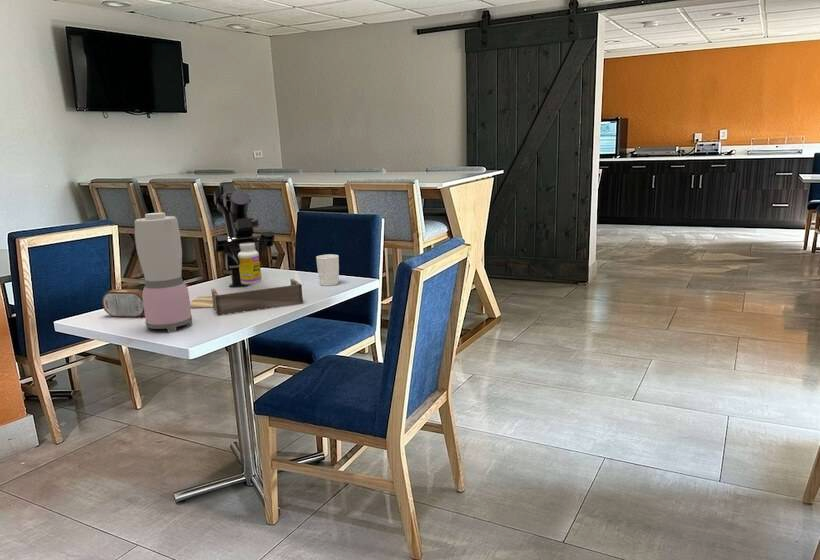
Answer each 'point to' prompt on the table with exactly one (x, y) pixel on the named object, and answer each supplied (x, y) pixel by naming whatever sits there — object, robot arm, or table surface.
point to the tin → (124, 303)
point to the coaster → (202, 302)
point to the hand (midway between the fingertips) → (249, 262)
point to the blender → (162, 272)
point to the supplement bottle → (249, 264)
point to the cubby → (257, 299)
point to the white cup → (328, 269)
